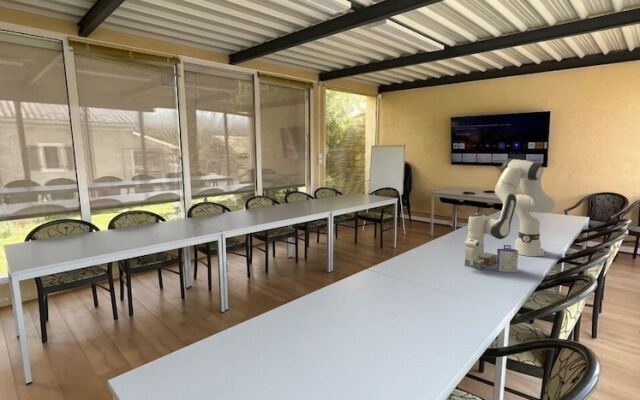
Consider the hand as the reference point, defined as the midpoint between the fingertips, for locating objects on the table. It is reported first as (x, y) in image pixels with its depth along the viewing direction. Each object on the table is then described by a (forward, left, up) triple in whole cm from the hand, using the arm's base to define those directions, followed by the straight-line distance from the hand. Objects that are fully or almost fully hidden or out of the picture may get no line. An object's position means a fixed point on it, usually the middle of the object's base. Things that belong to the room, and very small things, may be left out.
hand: (474, 263), depth 205 cm
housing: (0, 0, -2) cm, 2 cm away
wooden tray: (-14, 0, -2) cm, 14 cm away
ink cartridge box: (-6, +16, -2) cm, 17 cm away
